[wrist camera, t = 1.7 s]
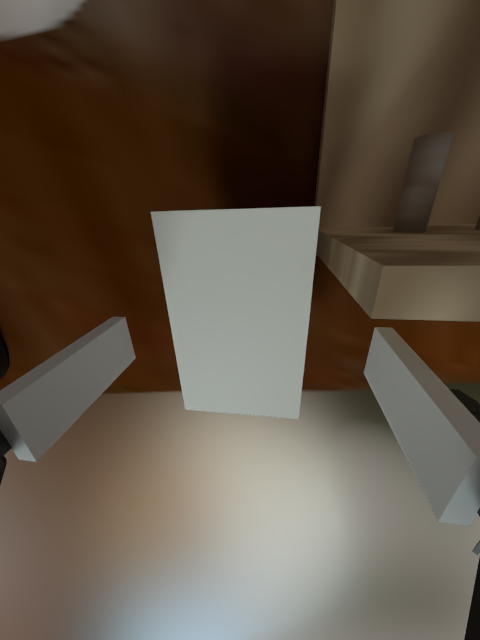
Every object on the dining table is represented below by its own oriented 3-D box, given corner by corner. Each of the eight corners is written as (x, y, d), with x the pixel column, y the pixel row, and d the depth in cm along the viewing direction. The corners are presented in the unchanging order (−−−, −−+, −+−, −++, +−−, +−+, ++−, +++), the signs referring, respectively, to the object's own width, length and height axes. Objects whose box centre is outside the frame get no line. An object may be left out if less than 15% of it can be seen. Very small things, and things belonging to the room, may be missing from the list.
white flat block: (197, 382, 20) (185, 409, 17) (174, 210, 14) (150, 211, 12) (295, 388, 19) (298, 419, 16) (311, 206, 13) (320, 206, 10)
